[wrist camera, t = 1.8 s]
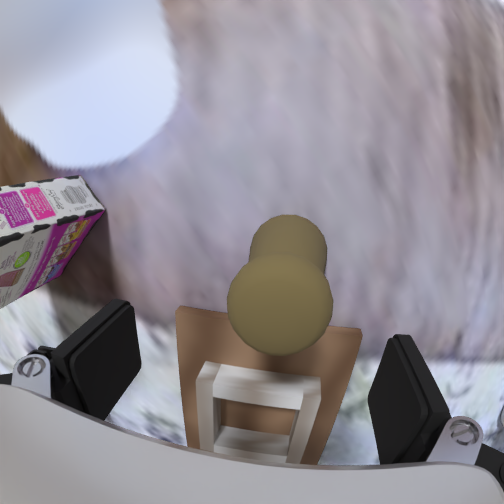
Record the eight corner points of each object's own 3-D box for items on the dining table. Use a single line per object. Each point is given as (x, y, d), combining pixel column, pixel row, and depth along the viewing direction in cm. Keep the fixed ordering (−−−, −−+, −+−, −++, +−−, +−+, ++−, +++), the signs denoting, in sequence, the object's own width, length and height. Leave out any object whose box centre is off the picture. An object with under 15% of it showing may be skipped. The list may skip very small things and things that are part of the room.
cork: (339, 270, 23) (363, 348, 13) (272, 300, 25) (249, 388, 14) (306, 200, 22) (310, 230, 12) (236, 235, 24) (185, 290, 13)
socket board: (360, 328, 24) (368, 356, 20) (316, 459, 30) (315, 485, 26) (180, 305, 26) (161, 328, 22) (190, 440, 32) (180, 464, 28)
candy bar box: (80, 171, 24) (-71, 197, 9) (108, 208, 25) (-47, 262, 9) (37, 244, 28) (-76, 295, 12) (60, 277, 28) (-51, 345, 13)
